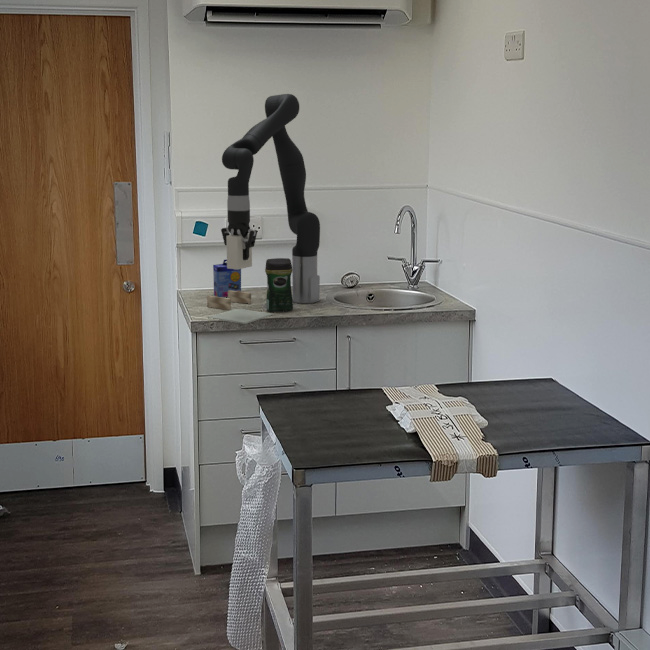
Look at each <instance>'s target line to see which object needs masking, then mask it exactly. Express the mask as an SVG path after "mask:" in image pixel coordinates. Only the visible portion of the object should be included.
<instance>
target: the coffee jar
mask: <svg viewBox="0 0 650 650" xmlns="http://www.w3.org/2000/svg"><path fill="white" fill-rule="evenodd" d="M264 270H265V271H264V272H265V274H266V278H267V279H266V282H267V283H266V286H267V287H266V296H265V297H266V299H265V301H266V302H265V310H266V311H267V312H271V313H273V312H274V313H282V312H283V311H284V312H290V311H292V310H294V302H293V291H292V280H291V277H292V260H291V259H290V258H287V257H285V258H283V257H282V258H281V257H280V258H279V257H277V258H267V259H266V261H265V267H264Z"/></svg>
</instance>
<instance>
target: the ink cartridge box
mask: <svg viewBox="0 0 650 650" xmlns="http://www.w3.org/2000/svg"><path fill="white" fill-rule="evenodd" d="M212 268H213V296H215V297H223V298H225V297H227V298H228V290H231V291H239V292H242V269H238V270H237V269H228V268H227V258H226V259H223V262H222V263H218V264H212Z"/></svg>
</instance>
